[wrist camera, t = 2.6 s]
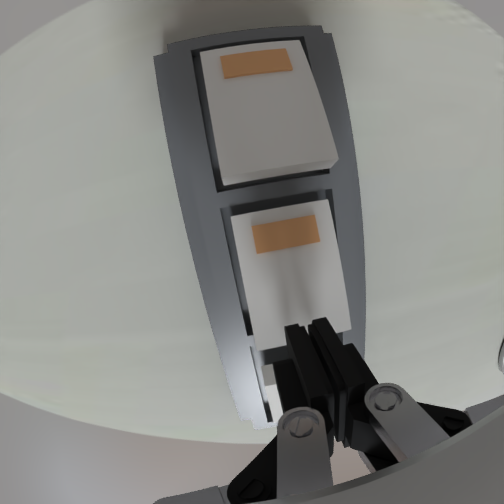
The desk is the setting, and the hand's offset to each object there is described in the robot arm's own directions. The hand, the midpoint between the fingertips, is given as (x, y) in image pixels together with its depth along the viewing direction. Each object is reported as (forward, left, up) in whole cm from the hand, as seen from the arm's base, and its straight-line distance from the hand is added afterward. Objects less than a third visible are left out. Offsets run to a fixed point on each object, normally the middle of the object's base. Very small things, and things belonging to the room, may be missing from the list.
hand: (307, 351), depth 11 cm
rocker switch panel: (+2, -1, -8) cm, 8 cm away
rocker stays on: (+8, -5, -3) cm, 10 cm away
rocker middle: (+2, -1, -3) cm, 4 cm away
